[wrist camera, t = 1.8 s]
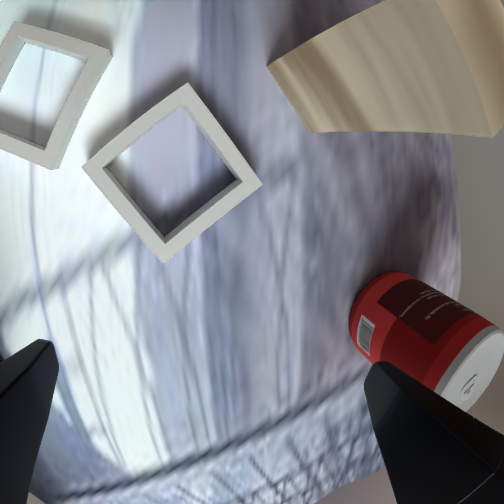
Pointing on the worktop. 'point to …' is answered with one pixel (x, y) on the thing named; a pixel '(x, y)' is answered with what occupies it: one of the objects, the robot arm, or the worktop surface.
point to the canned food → (427, 336)
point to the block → (402, 70)
